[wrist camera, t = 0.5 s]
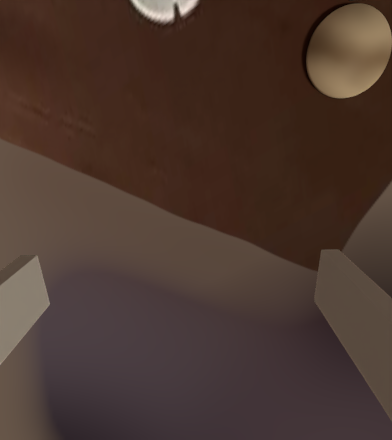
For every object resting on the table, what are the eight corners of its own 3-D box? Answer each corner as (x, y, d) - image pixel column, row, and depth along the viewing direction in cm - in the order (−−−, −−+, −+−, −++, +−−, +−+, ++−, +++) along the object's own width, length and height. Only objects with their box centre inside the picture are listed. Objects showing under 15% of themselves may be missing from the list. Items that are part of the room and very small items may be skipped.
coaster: (310, 8, 32) (312, 6, 31) (396, 3, 31) (399, 0, 31) (302, 100, 35) (304, 99, 34) (380, 96, 35) (383, 95, 34)
